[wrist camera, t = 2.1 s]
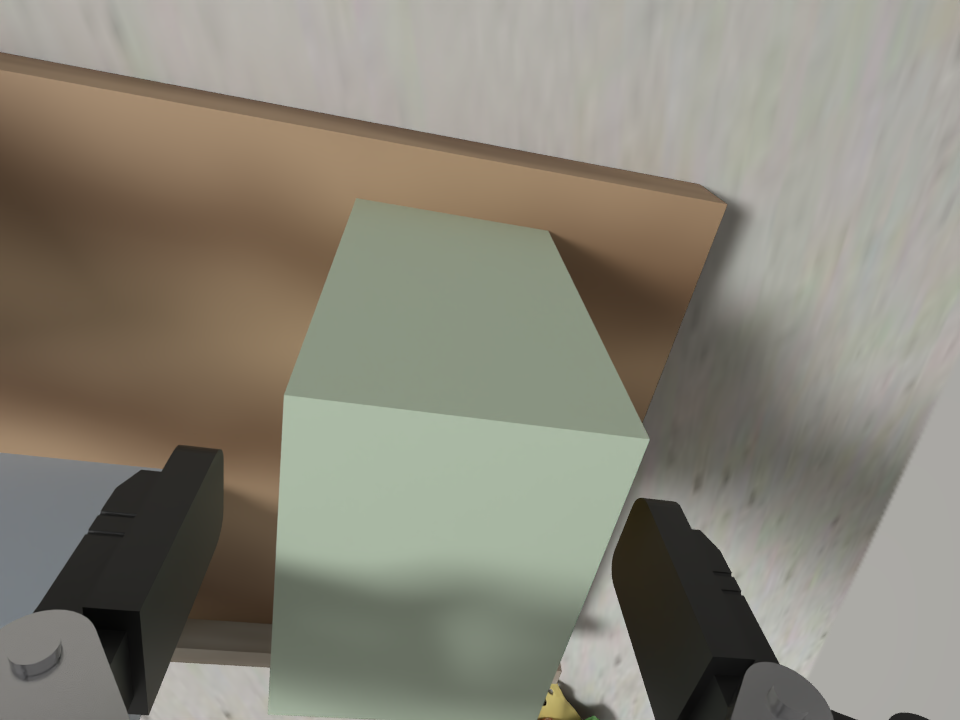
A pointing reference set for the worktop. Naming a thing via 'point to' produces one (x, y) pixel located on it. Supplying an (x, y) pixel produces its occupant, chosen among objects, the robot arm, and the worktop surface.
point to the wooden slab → (259, 280)
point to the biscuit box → (46, 522)
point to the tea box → (442, 474)
